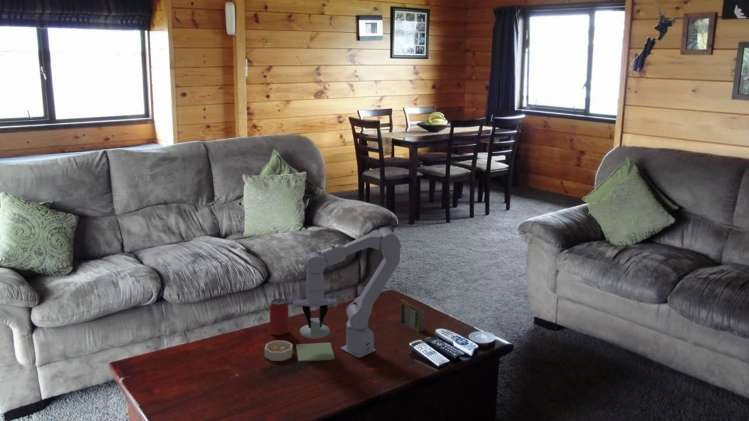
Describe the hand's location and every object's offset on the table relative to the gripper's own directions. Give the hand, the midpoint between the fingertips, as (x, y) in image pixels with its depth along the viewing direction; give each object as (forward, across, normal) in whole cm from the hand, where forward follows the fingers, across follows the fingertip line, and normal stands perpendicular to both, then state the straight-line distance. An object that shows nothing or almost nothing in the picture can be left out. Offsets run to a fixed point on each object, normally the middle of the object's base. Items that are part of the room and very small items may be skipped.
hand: (314, 326), depth 228 cm
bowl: (+10, -12, 0) cm, 16 cm away
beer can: (+10, -11, +18) cm, 23 cm away
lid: (+2, 0, 0) cm, 2 cm away
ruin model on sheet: (+10, +38, +17) cm, 43 cm away
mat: (+10, 0, 0) cm, 10 cm away
